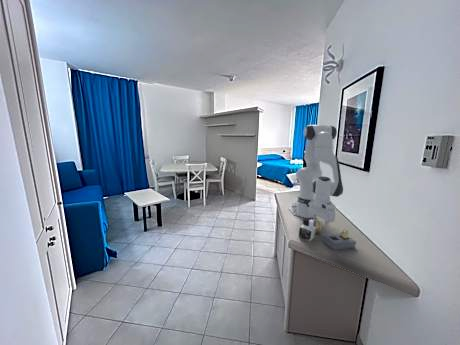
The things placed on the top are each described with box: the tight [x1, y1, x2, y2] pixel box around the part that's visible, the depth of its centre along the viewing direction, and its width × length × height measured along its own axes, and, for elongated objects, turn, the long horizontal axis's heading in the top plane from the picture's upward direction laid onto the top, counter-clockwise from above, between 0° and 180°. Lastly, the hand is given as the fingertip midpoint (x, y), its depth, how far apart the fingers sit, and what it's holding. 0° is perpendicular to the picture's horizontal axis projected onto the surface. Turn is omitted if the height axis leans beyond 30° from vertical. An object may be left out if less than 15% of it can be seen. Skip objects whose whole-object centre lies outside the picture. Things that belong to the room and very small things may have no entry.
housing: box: [321, 232, 357, 251], centre depth 119 cm, size 14×10×4 cm
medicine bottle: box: [298, 217, 316, 242], centre depth 124 cm, size 7×7×12 cm
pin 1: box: [315, 220, 323, 236], centre depth 130 cm, size 3×3×8 cm
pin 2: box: [341, 229, 349, 240], centre depth 119 cm, size 3×3×8 cm
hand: (319, 223), depth 129 cm, fingers open, 8 cm apart
